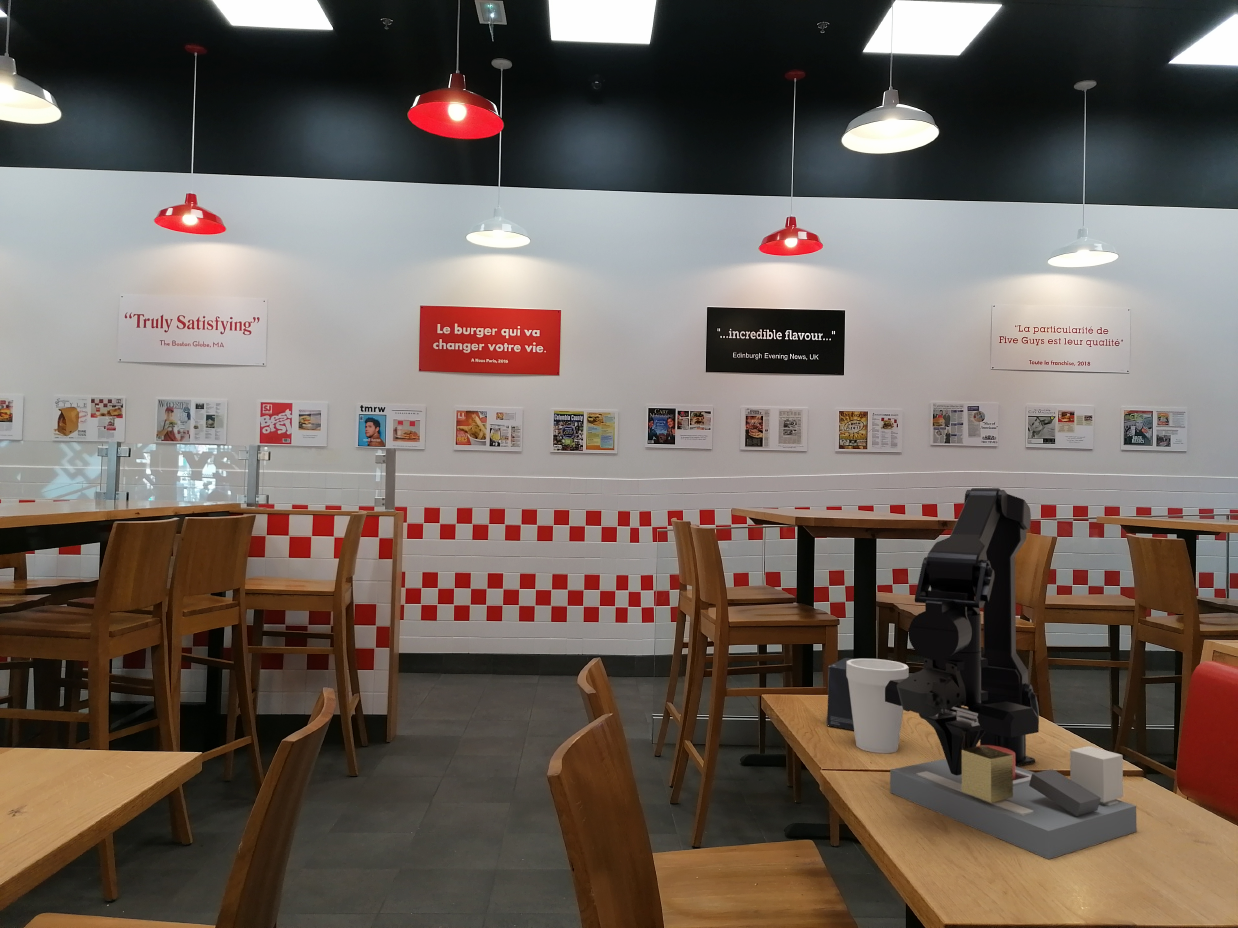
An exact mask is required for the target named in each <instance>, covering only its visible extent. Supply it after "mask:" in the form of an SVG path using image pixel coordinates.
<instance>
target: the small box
mask: <svg viewBox="0 0 1238 928" xmlns="http://www.w3.org/2000/svg"><path fill="white" fill-rule="evenodd" d="M851 659H852V658H851V657H850V658H849V657H844V658H842V659H840V660H837V661H836V662H834V663H832V664H829V665H828V669H827V677H828V678H827V714H826V726H827V725H829V726H828V727H831V726H835V727H834V728H837V727H839V729H842V728H845V729H844V730H848V729H850V730H849V731H853V730H854V724H853V716H852V708H851V700H850V691H849V683H848V679H847V676H846V663H847V661H848V660H851Z"/></svg>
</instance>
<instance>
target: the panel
mask: <svg viewBox="0 0 1238 928" xmlns="http://www.w3.org/2000/svg"><path fill="white" fill-rule="evenodd" d="M1033 773H1035V772H1034V771H1032V770H1031V771H1030V770H1028V769H1024V768H1021V767H1019V766H1015V780H1013V797H1012V798H1008V799H1004V800H1000V801H996V802H992V803H991V802H988V801H986V800H983V799H980V798H978V797H975V796H972V795H970V794H967V793H965V792H962V774H961V775H957V776H956V775H953V774H951V772H950V769H949V766H948V763H947V760H946V758H942V759H937V760H932V761H927V762H923V763H922V762H921V763H917V764H912V765H908V766H902V767H896V768H891V769H890V771H889V776H890V777H889V784H890V785H889V790H890V791H889V792H890V794H893V795H895V796H898V797H900V798H902V799H905V800H907V801H909V802H912V803H914V804H917V805H919V806H921V807H924V808H927V809H929V810H930V811H934V812H936V813H938V814H940V815H943V816H945V817H948V818H950V819H952V820H955V821H956V822H960V823H961V824H964V825H967V826H969V827H971V828H973V829H976V830H979V831H981V832H983V833H986V834H988V835H990V836H992V837H995V838H998V839H1000V840H1002V841H1005V842H1007V843H1009V844H1012V845H1014V846H1016V847H1018V848H1021V849H1023V850H1025V851H1028V852H1030V853H1033V854H1036V855H1037V856H1039V857H1042V858H1045V859H1047V860H1051V859H1054V858H1057V857H1060V856H1064V855H1066V854H1070V853H1073V852H1077V851H1079V850H1083V849H1086V848H1089V847H1092V846H1095V845H1098V844H1102V843H1104V842H1108V841H1111V840H1114V839H1117V838H1121V837H1124V836H1127V835H1130V834H1134V833H1136V832H1137V831H1138V830H1137V826H1138V825H1137V805H1134V804H1132V803H1129V802H1126V801H1124V800H1120V799H1115V800H1111V801H1108V802H1101V801H1100V803H1099V806H1098V810H1096V811H1093V812H1089V813H1086V814H1082V815H1079V816H1076V815H1074V814H1073V813H1071V812H1070V811H1068V810H1067V809H1065V808H1063V807H1062V806H1060V805H1059V804H1057V803H1056V802H1054V801H1052V800H1051V799H1049V798H1048V797H1046V796H1044V795H1043V794H1041V793H1040V792H1038V791H1037V790H1035V789H1033V788H1032V787H1030V786H1029V783H1030V780H1031V776H1032V774H1033ZM1133 832H1134V833H1133Z"/></svg>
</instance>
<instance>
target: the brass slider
mask: <svg viewBox="0 0 1238 928" xmlns="http://www.w3.org/2000/svg"><path fill="white" fill-rule="evenodd" d="M977 746H978V745H977ZM962 792H965V793H967V794H970V795H972V796H975V797H978V798H980V799H983V800H986V801H988V802H991V803H992V802H996V801H1000V800H1004V799H1008V798H1012V797H1013V755H1012V754H1008V753H1005V752H1002V751H999V750H996V749H993V748H989V747H986V746H978V747H973V748H968V749H963V750H962Z"/></svg>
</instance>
